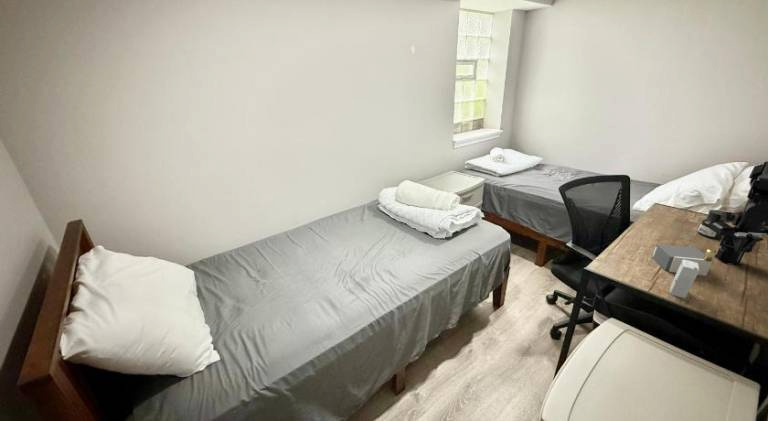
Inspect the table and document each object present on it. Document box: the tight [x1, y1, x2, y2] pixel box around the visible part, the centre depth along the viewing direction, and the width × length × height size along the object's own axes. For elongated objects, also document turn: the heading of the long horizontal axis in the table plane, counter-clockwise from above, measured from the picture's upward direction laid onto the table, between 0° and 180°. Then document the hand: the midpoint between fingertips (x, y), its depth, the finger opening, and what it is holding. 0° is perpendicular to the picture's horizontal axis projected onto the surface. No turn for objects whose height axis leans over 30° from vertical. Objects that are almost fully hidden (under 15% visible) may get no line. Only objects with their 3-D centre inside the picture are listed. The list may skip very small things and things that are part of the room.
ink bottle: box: [697, 209, 725, 240], centre depth 148 cm, size 10×9×12 cm
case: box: [651, 243, 714, 275], centre depth 126 cm, size 14×10×6 cm
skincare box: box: [669, 259, 699, 299], centre depth 110 cm, size 6×4×12 cm
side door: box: [668, 248, 717, 277], centre depth 120 cm, size 12×2×11 cm, turn 76°
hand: (736, 251), depth 115 cm, fingers closed
